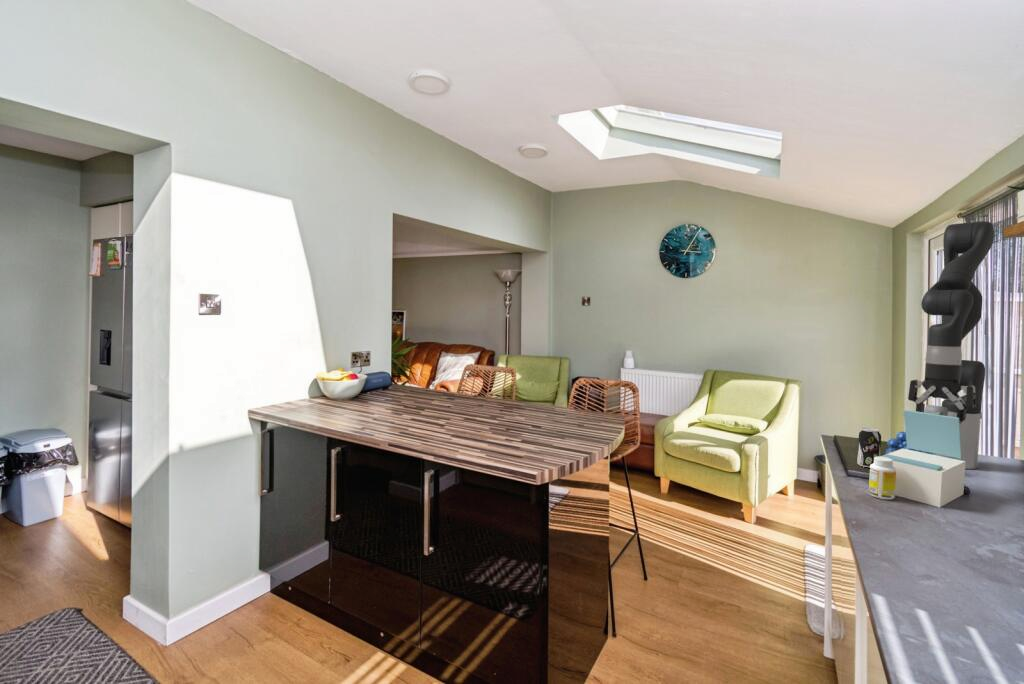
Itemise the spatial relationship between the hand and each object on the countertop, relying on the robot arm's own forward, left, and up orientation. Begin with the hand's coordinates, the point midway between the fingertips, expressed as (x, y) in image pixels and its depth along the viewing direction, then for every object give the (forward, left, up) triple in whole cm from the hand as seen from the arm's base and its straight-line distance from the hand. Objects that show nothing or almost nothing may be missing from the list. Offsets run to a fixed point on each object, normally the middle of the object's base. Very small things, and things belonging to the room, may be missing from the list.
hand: (939, 419), depth 138 cm
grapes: (-11, -10, -19) cm, 24 cm away
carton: (+11, 0, -18) cm, 22 cm away
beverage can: (-1, -17, -19) cm, 25 cm away
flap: (+5, 0, -3) cm, 6 cm away
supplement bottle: (+23, -4, -19) cm, 30 cm away
